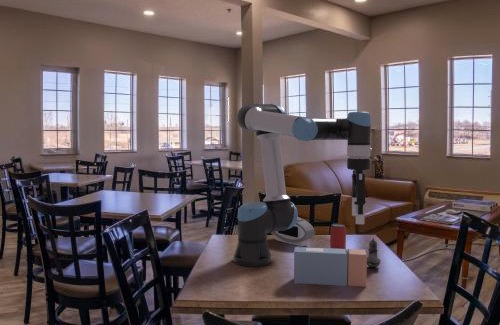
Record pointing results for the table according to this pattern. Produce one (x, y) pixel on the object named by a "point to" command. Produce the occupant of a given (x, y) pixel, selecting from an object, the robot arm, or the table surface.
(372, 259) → the dark rounded upright piece
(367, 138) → the robot arm
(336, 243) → the beer can
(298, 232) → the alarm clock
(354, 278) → the stub
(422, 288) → the table surface
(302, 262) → the gray rectangular box
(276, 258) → the table surface
